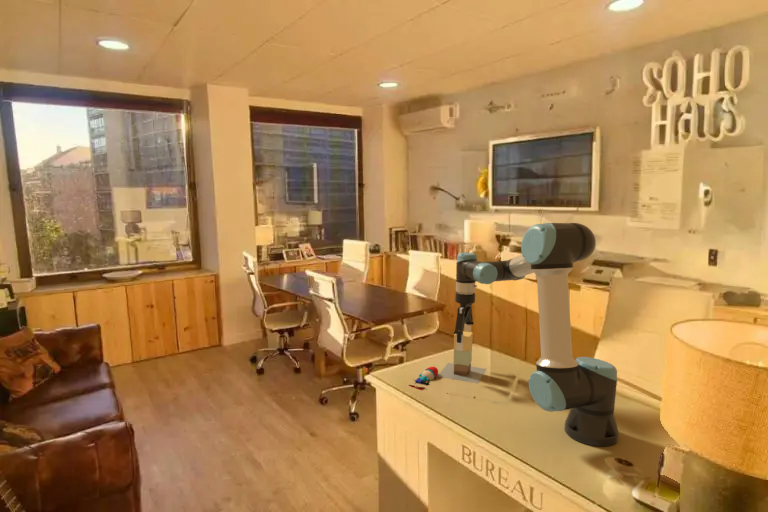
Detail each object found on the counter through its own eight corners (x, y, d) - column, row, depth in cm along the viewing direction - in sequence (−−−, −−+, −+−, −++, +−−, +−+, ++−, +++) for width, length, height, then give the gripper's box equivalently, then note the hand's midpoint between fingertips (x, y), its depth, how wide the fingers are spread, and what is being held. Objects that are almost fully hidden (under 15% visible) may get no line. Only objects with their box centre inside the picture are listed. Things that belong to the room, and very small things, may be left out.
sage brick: (468, 366, 187) (469, 351, 186) (453, 363, 189) (454, 349, 188) (471, 361, 192) (472, 347, 191) (456, 359, 194) (457, 345, 193)
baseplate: (477, 386, 181) (478, 383, 181) (437, 379, 187) (437, 376, 187) (486, 371, 196) (486, 368, 195) (447, 365, 202) (447, 362, 201)
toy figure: (424, 395, 177) (444, 376, 188) (422, 383, 176) (443, 364, 187) (407, 391, 181) (428, 373, 193) (405, 379, 180) (426, 362, 191)
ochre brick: (468, 351, 186) (469, 336, 185) (453, 349, 188) (454, 334, 187) (472, 347, 191) (472, 332, 191) (457, 345, 194) (457, 330, 193)
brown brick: (467, 376, 187) (467, 366, 187) (453, 374, 189) (454, 364, 189) (470, 371, 193) (471, 361, 192) (457, 368, 195) (457, 359, 194)
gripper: (467, 300, 174) (465, 356, 177) (481, 287, 196) (479, 337, 199) (447, 297, 177) (445, 353, 179) (463, 285, 199) (461, 335, 202)
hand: (463, 345), depth 189 cm, fingers open, 13 cm apart
